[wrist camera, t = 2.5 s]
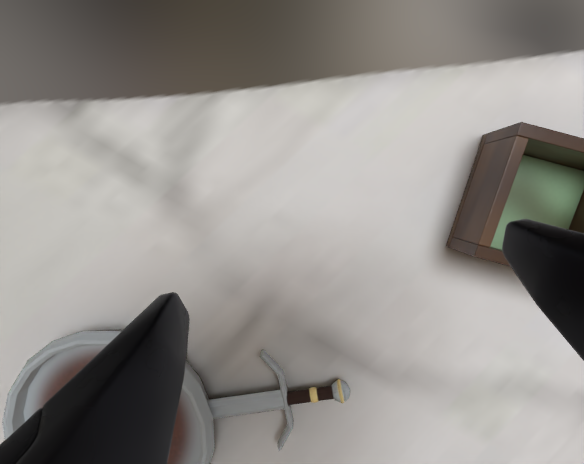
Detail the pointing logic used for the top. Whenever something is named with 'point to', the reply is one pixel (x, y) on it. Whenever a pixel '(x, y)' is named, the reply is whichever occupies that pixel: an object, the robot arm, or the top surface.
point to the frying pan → (192, 405)
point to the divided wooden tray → (519, 187)
